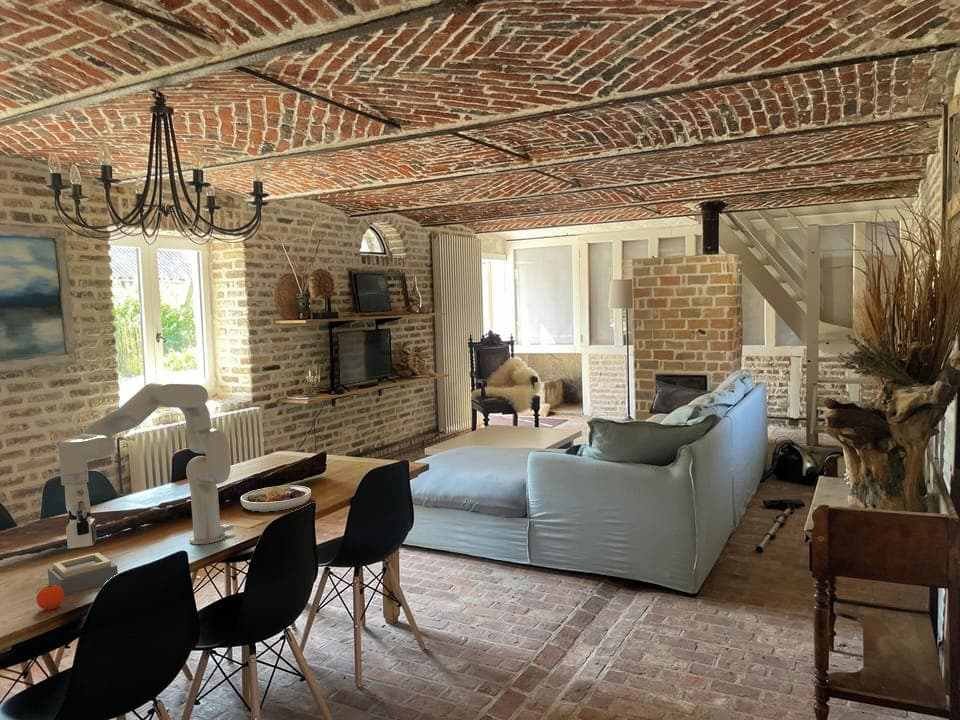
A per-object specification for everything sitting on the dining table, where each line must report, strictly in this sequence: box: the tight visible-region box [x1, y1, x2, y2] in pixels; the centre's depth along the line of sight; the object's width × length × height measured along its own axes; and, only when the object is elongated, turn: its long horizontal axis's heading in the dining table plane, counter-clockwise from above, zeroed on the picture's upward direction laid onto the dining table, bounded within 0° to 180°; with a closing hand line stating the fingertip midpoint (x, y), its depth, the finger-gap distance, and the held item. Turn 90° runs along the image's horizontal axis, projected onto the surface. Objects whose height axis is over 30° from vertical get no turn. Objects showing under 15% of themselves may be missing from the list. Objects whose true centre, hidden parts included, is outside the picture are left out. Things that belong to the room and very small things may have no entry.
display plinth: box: [46, 552, 119, 596], centre depth 225 cm, size 16×16×6 cm
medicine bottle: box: [65, 511, 97, 550], centre depth 225 cm, size 7×7×12 cm
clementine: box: [35, 584, 65, 611], centre depth 205 cm, size 8×7×7 cm
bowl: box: [240, 484, 312, 513], centre depth 312 cm, size 30×30×8 cm
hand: (79, 531), depth 224 cm, fingers closed on medicine bottle, 9 cm apart
